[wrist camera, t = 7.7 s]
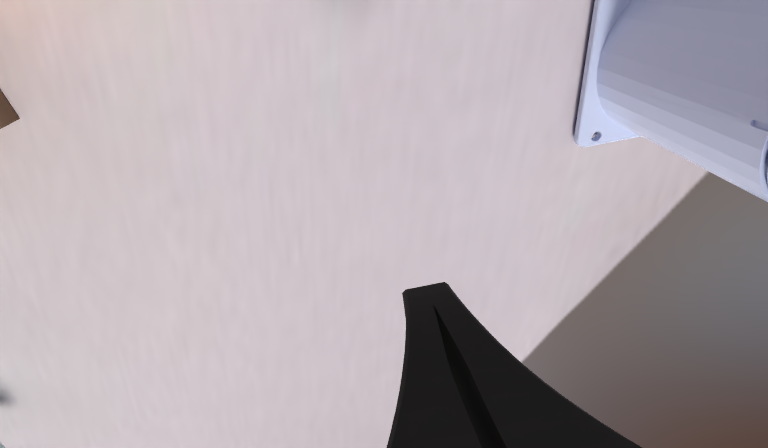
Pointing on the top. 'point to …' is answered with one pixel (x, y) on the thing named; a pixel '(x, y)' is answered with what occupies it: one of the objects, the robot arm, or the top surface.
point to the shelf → (6, 112)
